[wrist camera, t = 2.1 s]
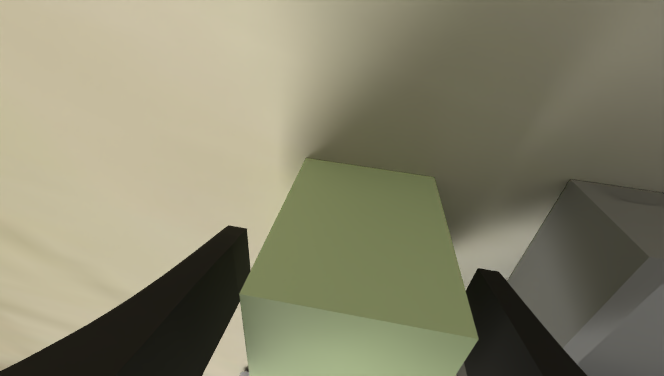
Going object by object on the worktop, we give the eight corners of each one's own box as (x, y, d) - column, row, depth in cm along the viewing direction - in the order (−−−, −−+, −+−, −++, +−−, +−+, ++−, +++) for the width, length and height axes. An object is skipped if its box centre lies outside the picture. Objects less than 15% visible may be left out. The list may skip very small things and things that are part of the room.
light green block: (404, 266, 13) (417, 434, 8) (301, 248, 13) (252, 398, 8) (434, 176, 11) (478, 338, 6) (306, 157, 11) (239, 293, 6)
